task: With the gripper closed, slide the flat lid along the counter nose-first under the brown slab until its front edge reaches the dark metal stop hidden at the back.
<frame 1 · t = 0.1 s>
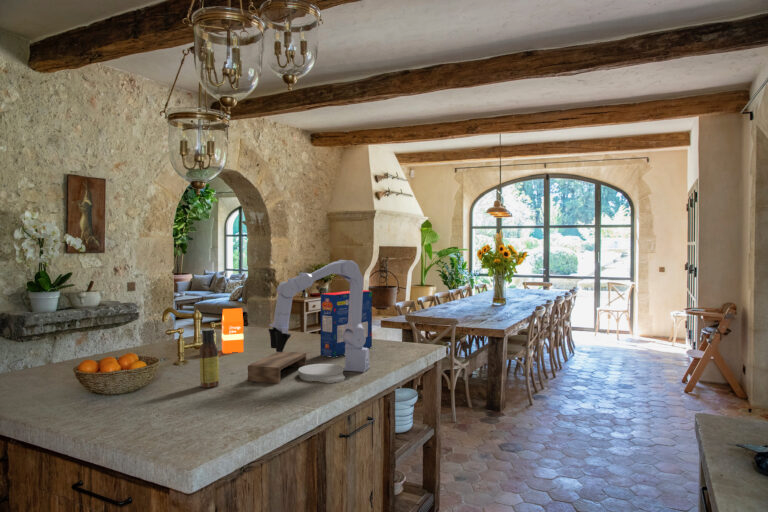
hand: (276, 350, 185), 11 cm above the counter, tool pointing down, fingers open, 7 cm apart
pasta box: (347, 352, 234), on the counter
orange juice: (232, 351, 234), on the counter
sauce bottle: (209, 386, 175), on the counter
brown slab: (278, 373, 193), on the counter
lid: (323, 378, 188), on the counter
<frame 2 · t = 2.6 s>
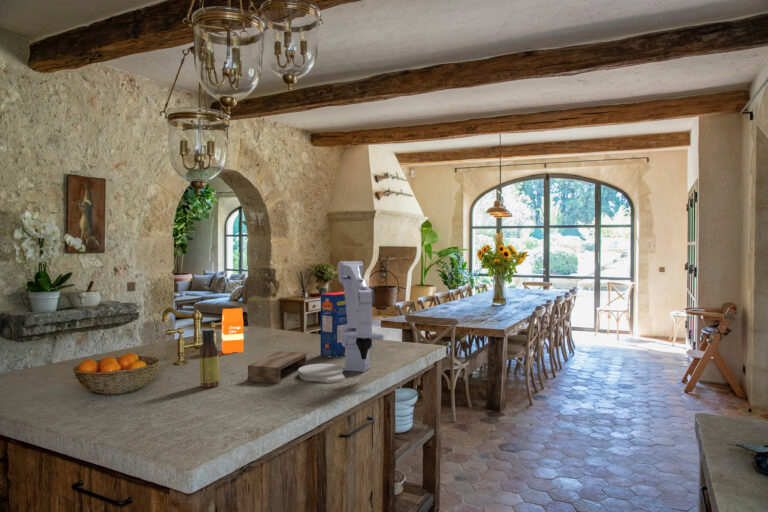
hand: (363, 358, 185), 8 cm above the counter, tool pointing down, fingers closed
nothing on the counter moved.
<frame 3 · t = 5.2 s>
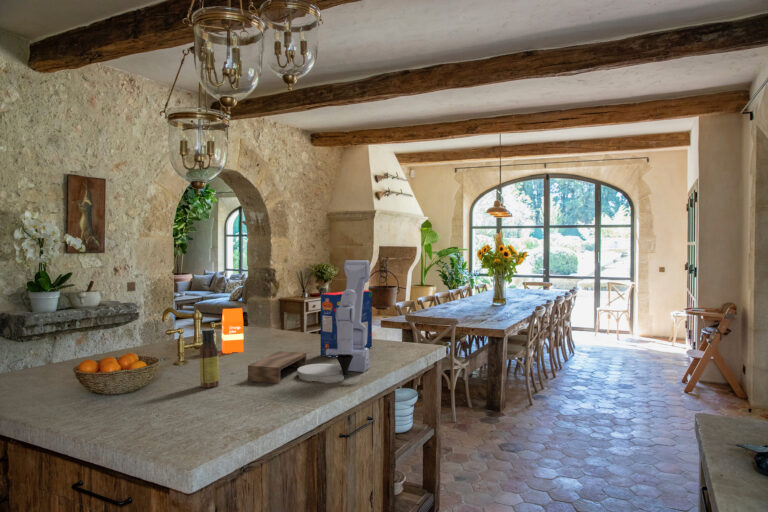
hand: (345, 374, 186), 1 cm above the counter, tool pointing down, fingers closed
lid: (322, 377, 188), on the counter, touching gripper
everything else where it was.
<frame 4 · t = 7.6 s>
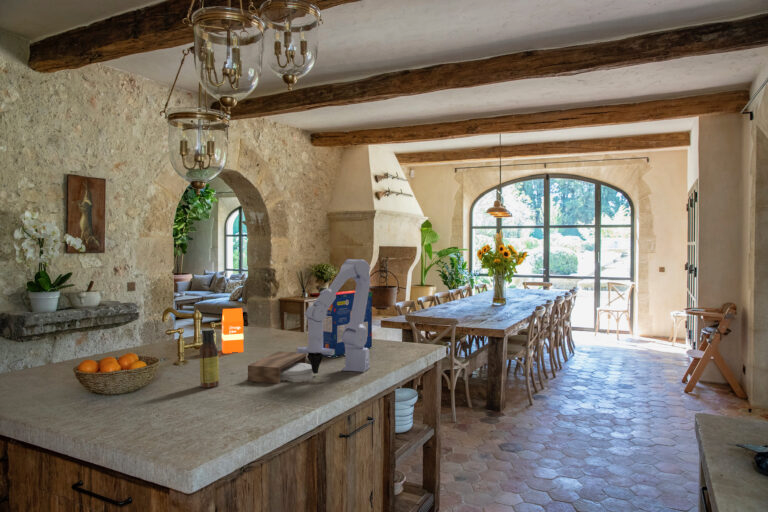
hand: (315, 372, 189), 1 cm above the counter, tool pointing down, fingers closed
lid: (292, 376, 190), on the counter, touching gripper
everything else where it was.
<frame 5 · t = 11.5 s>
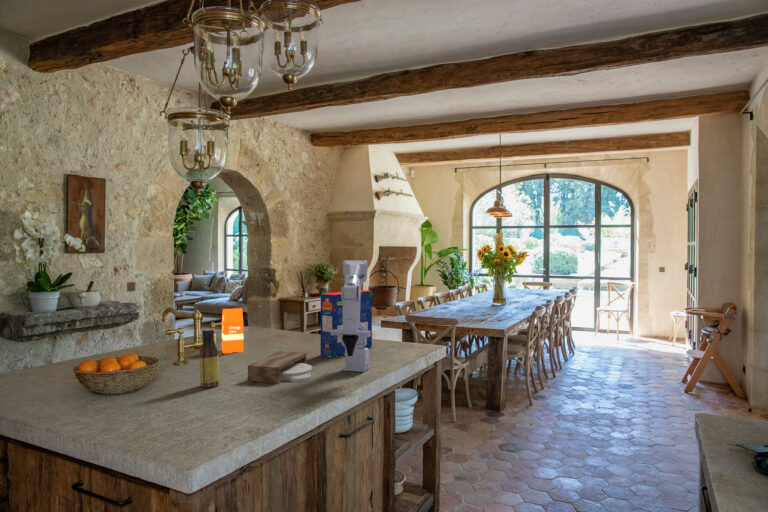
hand: (350, 355, 182), 9 cm above the counter, tool pointing down, fingers closed
lid: (291, 376, 190), on the counter
everything else where it was.
at the end: lid 1.5 cm from the target spot, on the counter; lid tilted 0°; the gripper is holding nothing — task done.
